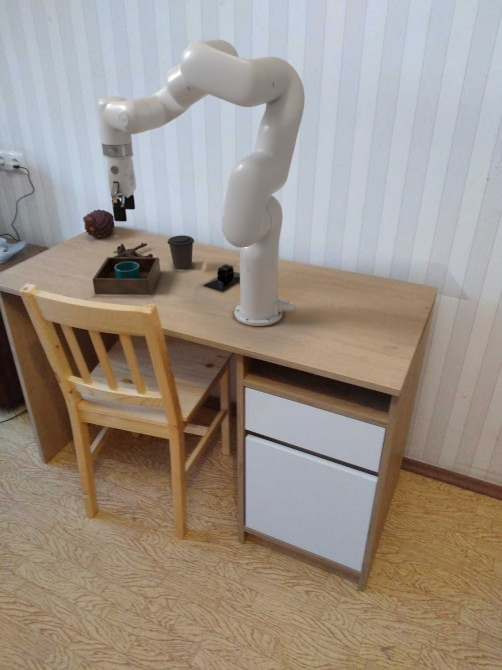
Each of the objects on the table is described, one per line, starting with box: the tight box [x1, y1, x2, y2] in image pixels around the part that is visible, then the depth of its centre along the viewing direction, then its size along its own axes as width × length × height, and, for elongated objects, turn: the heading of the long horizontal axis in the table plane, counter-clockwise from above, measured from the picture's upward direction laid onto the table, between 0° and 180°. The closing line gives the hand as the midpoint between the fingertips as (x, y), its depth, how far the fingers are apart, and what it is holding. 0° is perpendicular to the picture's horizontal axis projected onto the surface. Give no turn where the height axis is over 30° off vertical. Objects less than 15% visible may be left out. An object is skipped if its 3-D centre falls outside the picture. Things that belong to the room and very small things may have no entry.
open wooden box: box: [92, 256, 161, 296], centre depth 154 cm, size 16×16×5 cm
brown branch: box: [112, 242, 154, 258], centre depth 171 cm, size 18×4×14 cm
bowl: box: [114, 262, 141, 279], centre depth 154 cm, size 7×7×5 cm
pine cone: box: [82, 209, 116, 239], centre depth 188 cm, size 18×10×10 cm
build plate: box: [203, 263, 240, 293], centre depth 156 cm, size 12×7×5 cm, turn 145°
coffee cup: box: [166, 234, 195, 271], centre depth 163 cm, size 8×8×10 cm
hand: (125, 214), depth 145 cm, fingers open, 9 cm apart
